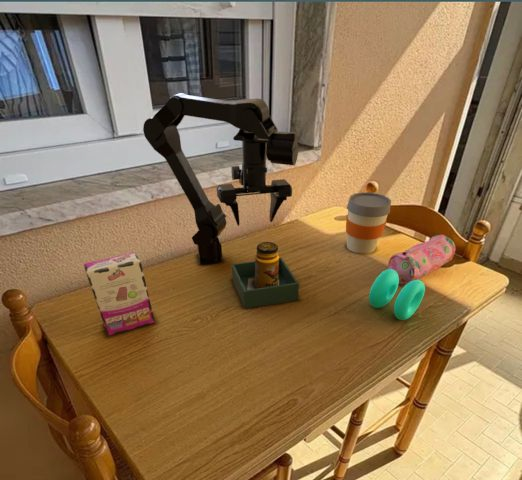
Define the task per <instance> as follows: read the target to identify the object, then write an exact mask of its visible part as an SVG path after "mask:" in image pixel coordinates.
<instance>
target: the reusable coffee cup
mask: <svg viewBox="0 0 522 480" xmlns="http://www.w3.org/2000/svg"><path fill="white" fill-rule="evenodd" d="M346 205H347V206H346V209H347V214H346V216H345V217H346V219H345V232H346V248H347V249H348V250H349V251H351V252H353V253H355V254H360V255H361V254H362V255H364V254H371V253H373V252H375V251H376V248H377V245H378V243H379V240H380V238H381V237H382V236H383V233H384V231H385V228H386V225H387V222H388V220H387V218H388V215H389V214H390V213H391V205H392V200H391V198H389V197H388V196H386V195H384V194H380V193H376V192H357V193H353V194H351V195H350V196H349V197H348V201H347V204H346Z"/></svg>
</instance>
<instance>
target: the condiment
mask: <svg viewBox="0 0 522 480" xmlns="http://www.w3.org/2000/svg"><path fill="white" fill-rule="evenodd" d="M279 258H280V256H279V246H278V245H277V244H276V243H275V242H272V241H263V242H259V243H258V244H257V246H256V254H255V256H254V261H255V279H248V286H247V290H250V289H257V288H264V287H271V286H277V285H279V280H278V271H279Z"/></svg>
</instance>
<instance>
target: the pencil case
mask: <svg viewBox="0 0 522 480" xmlns="http://www.w3.org/2000/svg"><path fill="white" fill-rule="evenodd" d="M455 254H456V244H455V242H454V241H453V239H451V238H450V237H448V236H446V235H445V234H436V235H433V236H432V237H431V238H430V239H429V240H426V241H424V242H420V243H417V244H415V245H413V246H410V247H409V248H408V249H406V250H404V251H402V252H397V253H395V254H392V255H391V256H390V257H389V259H388V262H387V269H393V270H395V271H396V272H397V274H398V276H399V284H398V285H406V284H408V283H409V282H411V281H413V280H420V279H421V278H423V277H425V276H427V275H430V273H432V272H435V271H436V270H437V269H439V268H441V267H442V266H444V265H445V264H447V263H449V262H450V261H451V260H452V259H453V258H454V256H455Z"/></svg>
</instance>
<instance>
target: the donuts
mask: <svg viewBox="0 0 522 480" xmlns="http://www.w3.org/2000/svg"><path fill="white" fill-rule="evenodd" d="M399 285H400V284H399V276H398V274H397V272H396V271H395V270H393V269H388V268H386V269H385V270H383V271H381V272H380V273H379V275H377V277H376V278H375V279H374V281H373V283H372V285H371V287H370V291H369V295H368V301H369V304H370V306H372V307H373V308H375V309H379V308H383V307H385V306H386V305H388V304H389V303H390V302H391V301H392V299H393V298H394V297H395V294H396V292H397V290H398V288H399ZM425 292H426V285H425V283H424V282H423V281H422V280H420V279H417V280H413V281H411V282H409V283H407V284H404V286H403V287H402V289H401V290H400V291H399V293H398V295H397V296H396V299H395V301H394V305H393V313H394V316H395V318H397V319H398V320H400V321H406V320H409V318H411V317H412V316H413V315H414V314H415V313H416V311H417V310H418V308H419V306H421V303H422V301H423V298H424V296H425Z"/></svg>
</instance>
